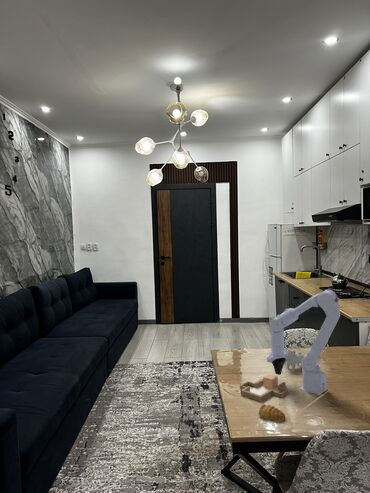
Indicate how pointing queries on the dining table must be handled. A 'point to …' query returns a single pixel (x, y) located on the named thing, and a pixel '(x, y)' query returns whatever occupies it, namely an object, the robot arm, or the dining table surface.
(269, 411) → the pastry
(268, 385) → the block
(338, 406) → the dining table surface
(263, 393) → the trap lane
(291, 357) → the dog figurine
